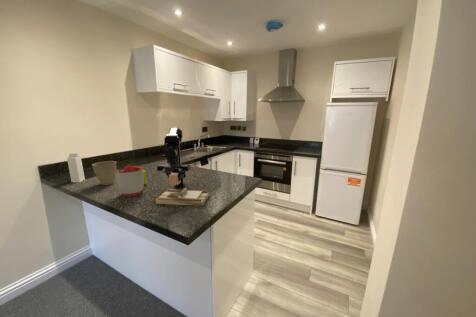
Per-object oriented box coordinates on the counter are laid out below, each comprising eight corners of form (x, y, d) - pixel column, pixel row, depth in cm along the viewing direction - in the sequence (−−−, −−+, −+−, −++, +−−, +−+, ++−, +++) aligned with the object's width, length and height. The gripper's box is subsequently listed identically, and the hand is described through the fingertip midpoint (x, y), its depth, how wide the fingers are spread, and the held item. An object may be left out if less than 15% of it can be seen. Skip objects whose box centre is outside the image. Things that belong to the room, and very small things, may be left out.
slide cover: (185, 192, 124) (184, 186, 123) (202, 192, 123) (201, 187, 122) (178, 199, 113) (178, 193, 112) (196, 200, 112) (196, 194, 111)
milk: (77, 180, 155) (71, 153, 150) (85, 179, 155) (80, 152, 151) (71, 182, 149) (65, 154, 144) (79, 182, 149) (74, 154, 145)
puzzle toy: (142, 180, 153) (141, 168, 151) (147, 183, 146) (145, 171, 144) (128, 183, 147) (126, 171, 144) (132, 187, 140) (131, 173, 137)
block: (172, 182, 121) (172, 172, 119) (180, 182, 120) (180, 172, 119) (169, 184, 116) (168, 175, 115) (177, 184, 115) (176, 175, 114)
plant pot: (112, 179, 157) (109, 160, 153) (123, 182, 150) (120, 162, 146) (91, 185, 144) (87, 164, 140) (102, 188, 137) (98, 166, 133)
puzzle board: (167, 194, 127) (166, 189, 126) (208, 195, 124) (208, 190, 124) (156, 203, 113) (155, 198, 113) (202, 205, 111) (202, 200, 110)
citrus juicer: (130, 187, 138) (127, 160, 134) (150, 190, 133) (147, 162, 129) (110, 196, 123) (106, 166, 119) (132, 199, 119) (128, 168, 114)
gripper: (150, 158, 107) (153, 185, 111) (183, 159, 106) (185, 186, 109) (160, 155, 118) (162, 179, 121) (190, 155, 117) (191, 180, 120)
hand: (174, 181), depth 118 cm, fingers closed on block, 5 cm apart
